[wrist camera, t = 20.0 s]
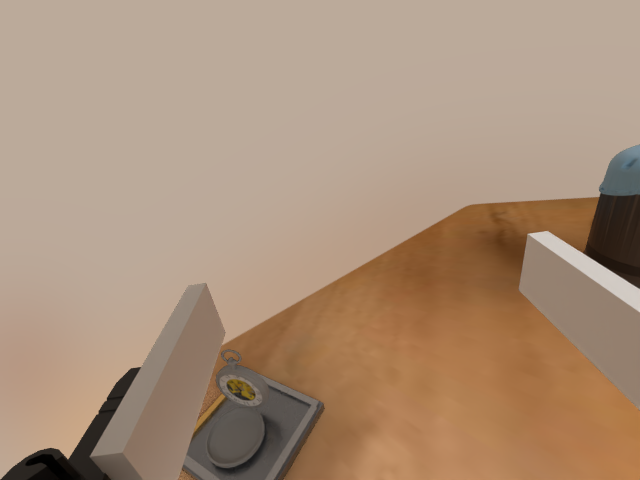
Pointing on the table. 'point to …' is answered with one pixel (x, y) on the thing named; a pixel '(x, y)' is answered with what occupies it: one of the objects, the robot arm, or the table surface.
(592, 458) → the table surface
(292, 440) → the pocket plate
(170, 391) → the robot arm
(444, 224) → the table surface
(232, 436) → the pocket watch
